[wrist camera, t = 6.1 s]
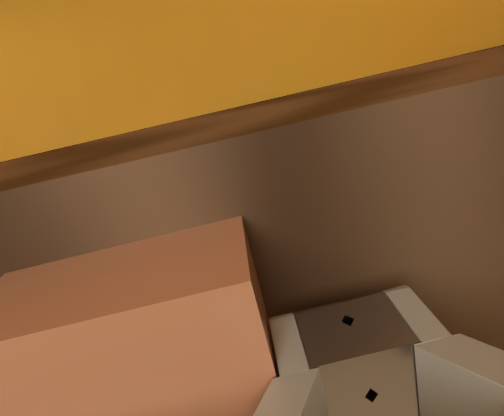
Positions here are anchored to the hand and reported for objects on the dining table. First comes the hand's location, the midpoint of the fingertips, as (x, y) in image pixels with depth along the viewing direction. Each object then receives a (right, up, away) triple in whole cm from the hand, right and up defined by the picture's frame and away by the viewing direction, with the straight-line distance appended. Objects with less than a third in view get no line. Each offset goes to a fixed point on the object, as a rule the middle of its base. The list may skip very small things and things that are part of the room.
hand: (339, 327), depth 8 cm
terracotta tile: (-4, -1, +1) cm, 4 cm away
